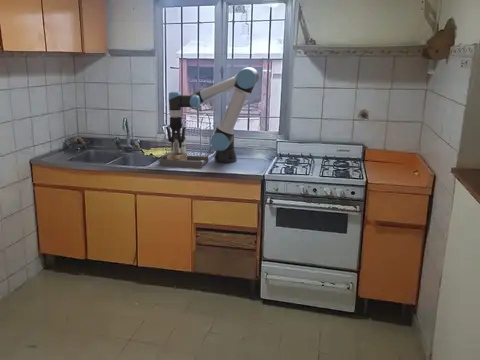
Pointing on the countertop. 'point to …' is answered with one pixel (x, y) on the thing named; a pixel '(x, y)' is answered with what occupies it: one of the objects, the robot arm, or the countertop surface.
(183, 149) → the coffee can
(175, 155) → the wooden peg stand
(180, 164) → the tray
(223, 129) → the robot arm
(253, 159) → the countertop surface
